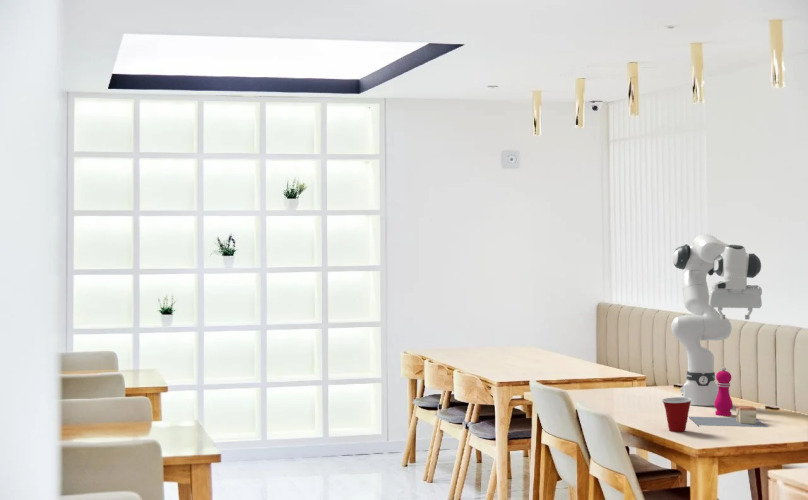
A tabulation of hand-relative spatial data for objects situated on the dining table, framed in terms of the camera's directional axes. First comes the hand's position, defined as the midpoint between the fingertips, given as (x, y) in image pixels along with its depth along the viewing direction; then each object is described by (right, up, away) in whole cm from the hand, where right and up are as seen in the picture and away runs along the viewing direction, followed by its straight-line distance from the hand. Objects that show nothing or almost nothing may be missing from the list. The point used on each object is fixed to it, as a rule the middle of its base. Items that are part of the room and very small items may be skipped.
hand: (735, 319), depth 387 cm
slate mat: (-7, -40, -12) cm, 42 cm away
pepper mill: (-3, -40, +4) cm, 40 cm away
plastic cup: (-32, -39, -30) cm, 59 cm away
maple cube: (0, -39, -13) cm, 41 cm away
